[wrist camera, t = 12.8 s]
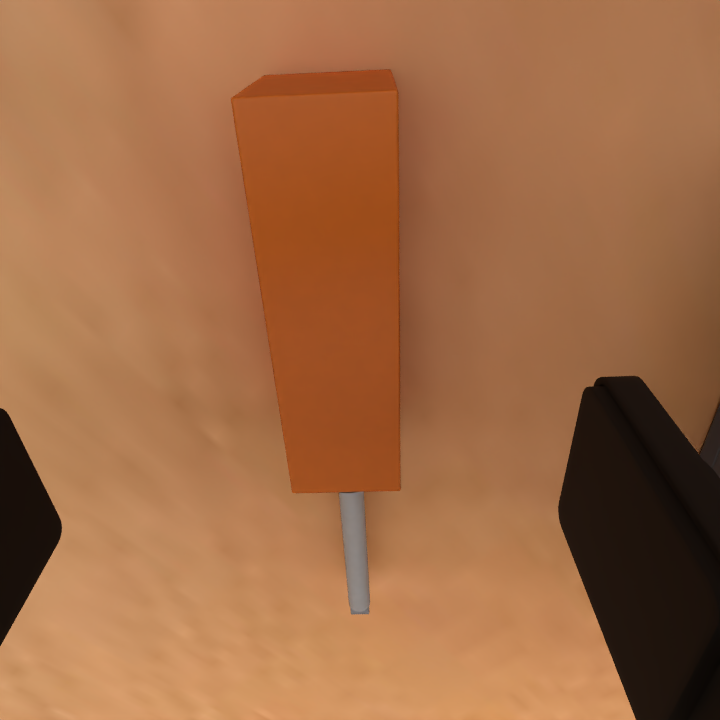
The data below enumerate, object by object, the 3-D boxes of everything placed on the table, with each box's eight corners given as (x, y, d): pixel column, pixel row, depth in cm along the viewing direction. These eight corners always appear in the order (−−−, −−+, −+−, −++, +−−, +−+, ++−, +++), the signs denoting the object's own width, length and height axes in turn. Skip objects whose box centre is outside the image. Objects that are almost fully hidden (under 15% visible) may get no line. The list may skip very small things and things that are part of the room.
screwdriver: (262, 75, 13) (230, 97, 10) (391, 68, 13) (398, 89, 10) (324, 572, 23) (318, 658, 20) (397, 570, 23) (401, 657, 20)
